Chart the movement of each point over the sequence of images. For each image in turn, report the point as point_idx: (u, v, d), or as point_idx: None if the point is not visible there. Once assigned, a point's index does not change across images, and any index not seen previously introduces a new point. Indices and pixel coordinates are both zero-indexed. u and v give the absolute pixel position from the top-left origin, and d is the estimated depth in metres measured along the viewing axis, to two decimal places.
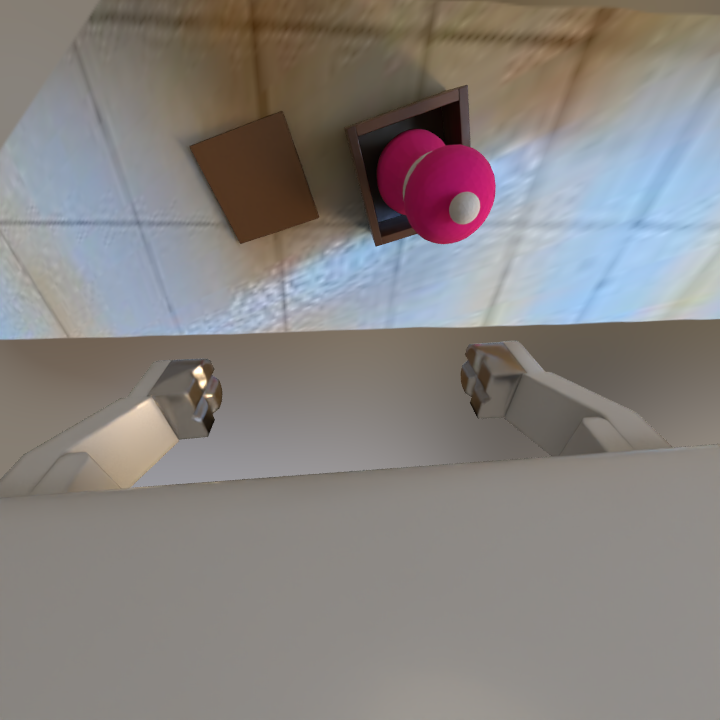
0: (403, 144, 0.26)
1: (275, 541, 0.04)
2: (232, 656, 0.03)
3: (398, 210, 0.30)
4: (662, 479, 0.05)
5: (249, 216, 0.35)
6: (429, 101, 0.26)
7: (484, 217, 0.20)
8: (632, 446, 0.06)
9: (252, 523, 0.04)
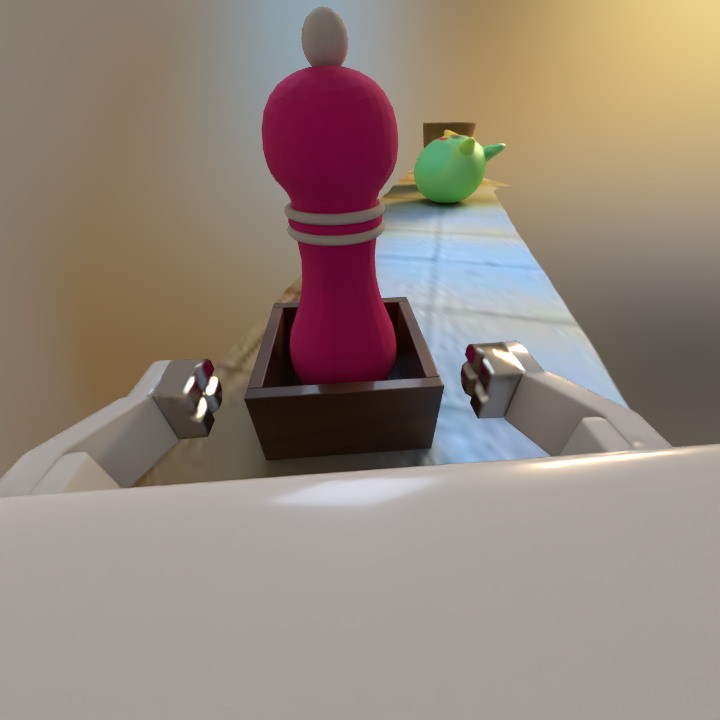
0: (295, 329, 0.19)
1: (275, 541, 0.04)
2: (232, 655, 0.03)
3: (381, 345, 0.18)
4: (662, 479, 0.05)
5: None
6: (270, 324, 0.21)
7: None
8: (632, 446, 0.06)
9: (252, 523, 0.04)
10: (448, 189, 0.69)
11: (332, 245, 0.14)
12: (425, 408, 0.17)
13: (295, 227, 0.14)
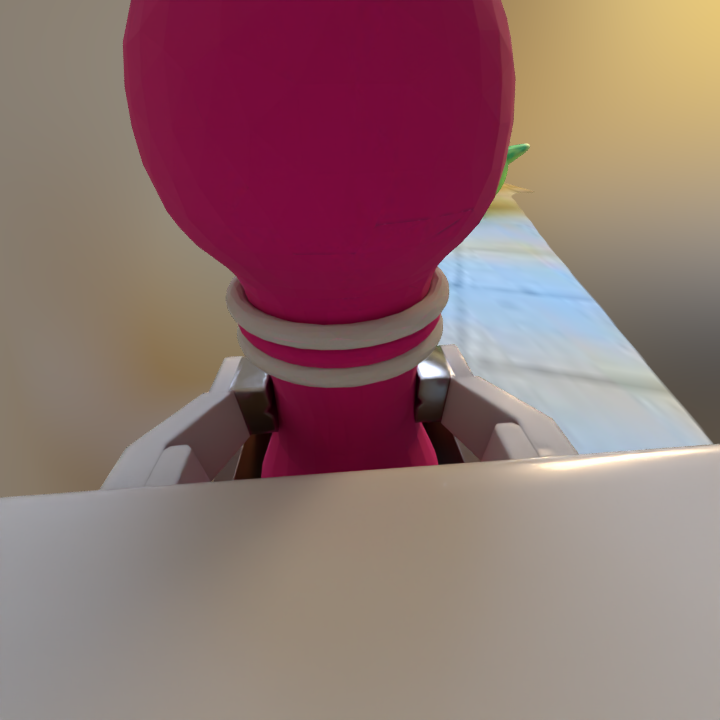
0: (265, 477, 0.10)
1: (275, 541, 0.04)
2: (232, 656, 0.03)
3: None
4: (662, 479, 0.05)
5: None
6: None
7: None
8: (538, 453, 0.06)
9: (252, 523, 0.04)
10: None
11: None
12: None
13: (247, 338, 0.06)
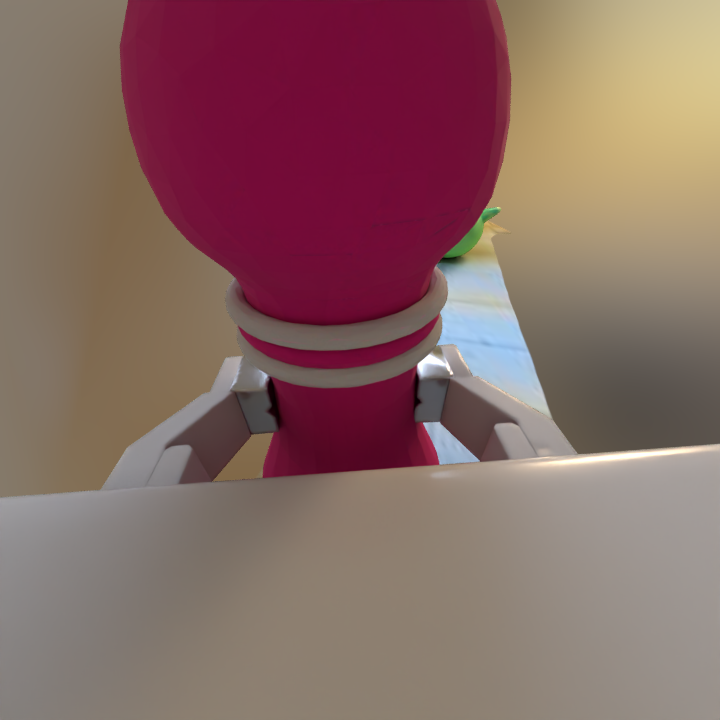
0: (267, 477, 0.10)
1: (275, 541, 0.04)
2: (232, 656, 0.03)
3: None
4: (662, 479, 0.05)
5: None
6: None
7: None
8: (537, 453, 0.06)
9: (252, 523, 0.04)
10: None
11: None
12: None
13: (246, 339, 0.06)
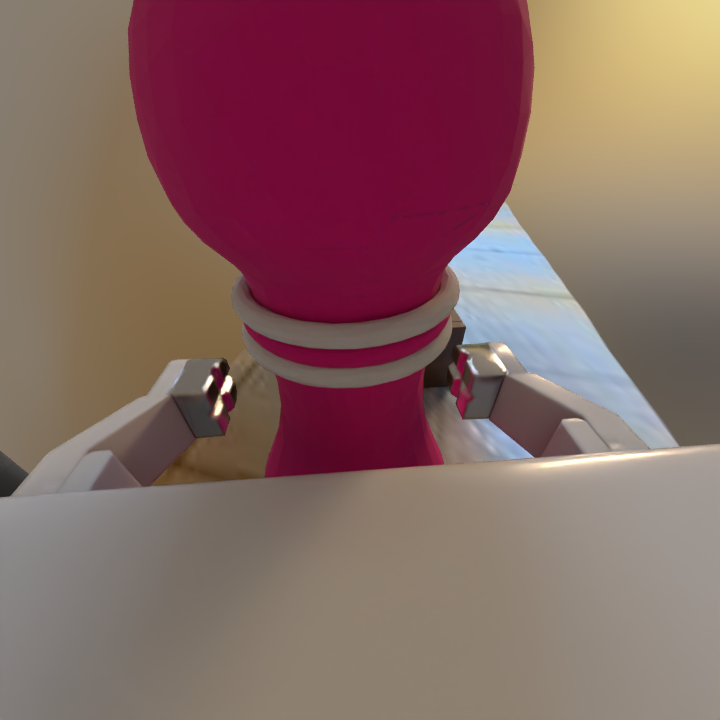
0: None
1: (275, 541, 0.04)
2: (230, 656, 0.03)
3: None
4: (662, 479, 0.05)
5: None
6: None
7: None
8: (610, 448, 0.06)
9: (252, 523, 0.04)
10: None
11: None
12: (450, 347, 0.22)
13: (253, 338, 0.06)
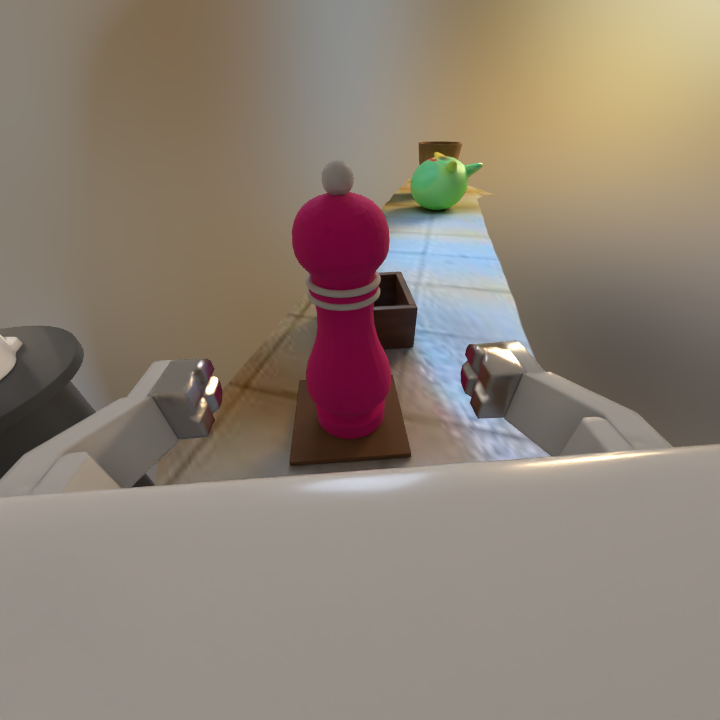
0: (311, 364, 0.24)
1: (275, 541, 0.04)
2: (232, 655, 0.03)
3: (378, 377, 0.23)
4: (662, 479, 0.05)
5: (378, 431, 0.27)
6: None
7: None
8: (632, 446, 0.06)
9: (252, 523, 0.04)
10: (437, 199, 0.87)
11: (341, 310, 0.19)
12: (409, 320, 0.35)
13: (314, 296, 0.20)
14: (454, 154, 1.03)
